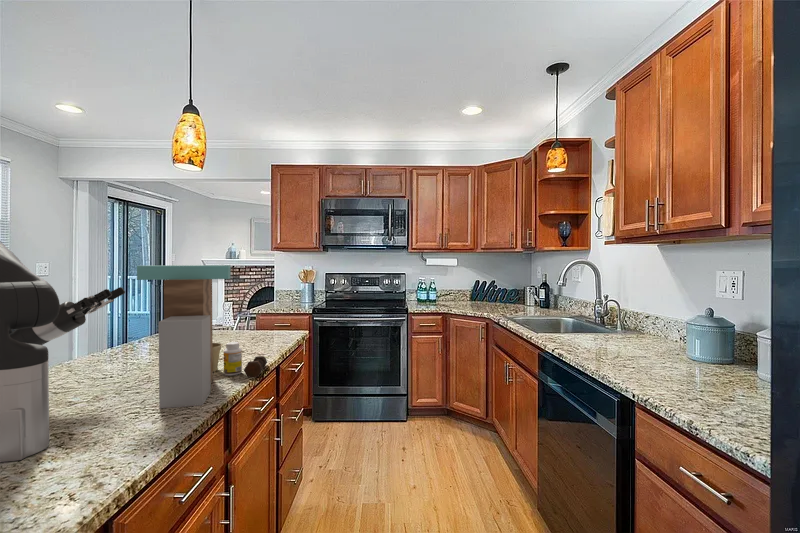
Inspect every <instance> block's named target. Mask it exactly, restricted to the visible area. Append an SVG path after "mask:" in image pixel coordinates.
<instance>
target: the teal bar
mask: <svg viewBox="0 0 800 533" xmlns="http://www.w3.org/2000/svg"><path fill="white" fill-rule="evenodd" d="M175 279H212V280H230V279H231V265H230V264H229V265H226V264H225V265H223V264H220V265H218V264H215V265H205V264H204V265H203V264H202V265H201V264H200V265H199V264H197V265H194V264H193V265H192V264H191V265H187V264H186V265H183V264H182V265H180V264H179V265H158V264H157V265H136V280H137V281H138V280H140V281H146V280H147V281H151V280H153V281H154V280H155V281H157V280H159V281H162V280H163V281H164V280H175Z"/></svg>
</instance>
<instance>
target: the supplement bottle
mask: <svg viewBox="0 0 800 533" xmlns="http://www.w3.org/2000/svg"><path fill="white" fill-rule="evenodd" d="M242 353H243V350H242V348H241V347H240V342H238V341H231V342H226V343H225V349H224V350H223V374H224V375H225V376H231V377H233V376H238V375H240V374H241V373H242V372H243V369H242V368H243V359H242V358H243V355H242Z"/></svg>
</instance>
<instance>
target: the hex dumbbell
mask: <svg viewBox="0 0 800 533" xmlns="http://www.w3.org/2000/svg"><path fill="white" fill-rule="evenodd" d="M267 364H268V360H267V358H266V357H265V356H261V355H257V356H255V357H254V359H253V360H250V361H249V360H248V362H247V364H246V365H245V367H244V369H243V371H244V373H245V375H246V377H247V378H259V376H260V375H261V373H262V371H263V370H264V369H265V367H266V365H267Z"/></svg>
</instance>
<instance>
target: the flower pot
mask: <svg viewBox="0 0 800 533" xmlns="http://www.w3.org/2000/svg"><path fill="white" fill-rule="evenodd" d="M222 346H223V343H220V342H212V347H213V373H214V372H216V371H217V370H218V367H219V361H220V353H221V350H222Z"/></svg>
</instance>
